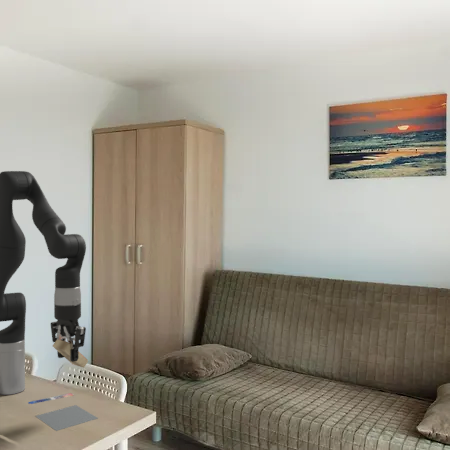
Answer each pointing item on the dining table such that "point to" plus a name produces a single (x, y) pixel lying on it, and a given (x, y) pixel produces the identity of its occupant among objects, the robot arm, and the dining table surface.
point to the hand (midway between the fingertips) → (67, 359)
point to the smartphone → (51, 398)
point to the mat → (66, 417)
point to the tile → (65, 348)
